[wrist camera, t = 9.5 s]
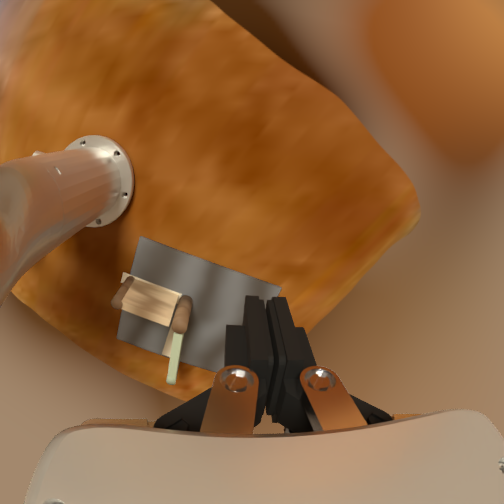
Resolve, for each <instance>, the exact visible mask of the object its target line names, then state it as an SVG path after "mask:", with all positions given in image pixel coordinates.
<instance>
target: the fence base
mask: <svg viewBox="0 0 504 504" xmlns="http://www.w3.org/2000/svg"><path fill="white" fill-rule="evenodd" d="M121 283H123V284H122V285H121V287H120V288H119V290H118V291H117V293H116V294H115V296H114V297H113V299H112V300H111V305H112V307H113V308H115V309H122V313H121V318H120V323H119V328H118V333H117V339H119V340H122V341H124V342H127V343H129V344H132V345H135V346H137V347H140V348H143V349H145V350H148V351H151V352H154V353H157V354H160V355H162V356H165V357H168V358H170V355H171V348H172V341H173V334H174V332H175V333H178V334H183V333H184V337H183V342H182V348H181V354H180V355H181V357H180V362H184V363H187V364H190V365H193V366H197V367H200V368H203V369H207V370H210V371H214V372H218V371H219V370H220V369H222V368H224V355H225V335H226V325H242V324H243V314H244V304H245V296H246V295H251V296H259V299H262V300H264V304H265V309H266V303H267V300H271V299H272V297H277V296H278V294H279V292H280V291H281V289H282V288H281V287H279V286H276V285H273V284H271V283H268V282H265V281H262V280H259V279H256V278H254V277H251V276H248V275H245V274H242V273H240V272H237V271H234V270H231V269H229V268H226V267H223V266H220V265H217V264H215V263H212V262H209V261H207V260H204V259H201V258H198V257H196V256H193V255H190V254H188V253H185V252H182V251H179V250H177V249H174V248H171V247H169V246H166V245H163V244H161V243H158V242H155V241H153V240H150V239H148V238H145V237H142V236H140V239H139V242H138V246H137V249H136V253H135V257H134V261H133V265H132V269H131V273H130V274H127V273H125V272H123V275H122V279H121Z"/></svg>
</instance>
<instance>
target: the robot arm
mask: <svg viewBox="0 0 504 504" xmlns="http://www.w3.org/2000/svg"><path fill="white" fill-rule="evenodd" d="M85 142H86V143H85ZM118 152H120V155H118ZM133 189H134V172H133V167H132V164H131V161H130V159H129V157H128V155H127V154H126V152H125V150H124V149H123V148H122V147H121V146H120V145H119V144H118V143H116V142H115V141H114V140H112V139H110V138H107V137H105V136H99V135H90V136H84V137H82V138H79V139H77V140H75V141H74V142H72V143H71V144H70V145H69V146H68V147H67V148H66V149H65V150H64V151H58V152H52V153H43V152H40V151H35V152H34V154H33V155H32V156H30V157H25V158H19V159H15V160H11V161H8V162H6V163H3V164H2V165H0V307H1V306H2V304H3V302H4V301H5V299H6V298H7V296H8V294H9V293H10V291H11V290H12V288H13V287H14V285H15V284H16V283H17V281H18V280H19V279H20V278H21V277H22V276H23V275H24V274H25V273H26V272H27V271H28V270H29V269H30V268H31V267H32V266H33V265H34V264H36V263H37V262H38V261H39V260H40V259H42V258H43V257H44V256H46V255H47V254H48V253H50V252H51V251H52V250H54V249H55V248H56V247H58V246H59V245H60V244H62V243H63V242H64V241H66V240H67V239H69V238H70V237H71V236H73V235H74V234H76V233H77V232H78V231H80V230H81V229H83V228H84V227H85V226H86V227H94V228H95V227H102V226H105V225H107V224H110V223H111V222H113V221H114V220H116V219H117V218H118V217H119V216H121V214H122V213H123V212H124V211H125V210H126V208H127V206H128V204H129V203H130V200H131V197H132V194H133ZM125 193H127V194H128V196H126V195H125ZM100 219H101V221H100ZM265 406H266V413H267V415H271V416H272V422H273V423H277V422H278V423H280V424H281V425H283V426H284V434H253V429H254V427H255V426H257V425H258V424H259V423H260V422H261V418H262V415H263V413H264V409H265ZM24 504H504V439H503V437H502V435H501V434H500V433H499V431H498V430H497V428H496V427H495V426H494V425H493V423H491V421H490V420H489V419H488V418H487V417H486V416H485V415H484V414H482V413H480V412H477V411H474V410H468V409H449V410H442V411H436V412H431V413H426V414H393V416H390V415H389V414H387V413H386V412H384V411H382V410H380V409H378V408H376V407H374V406H372V405H370V404H368V403H366V402H364V401H362V400H360V399H358V398H356V397H354V396H352V395H350V394H349V393H348V391H347V390H346V388H345V386H344V385H343V383H342V381H341V380H340V378H339V377H338V375H337V374H336V373H335V372H334V371H332V370H331V369H328V368H326V367H322V366H317V365H316V362H315V359H314V356H313V353H312V350H311V347H310V344H309V341H308V338H307V335H306V332H305V330H304V328H303V327H295V326H294V323H293V320H292V316H291V313H290V310H289V306H288V303H287V300H286V297H272V299H271V300H267V303H266V309H265V304H264V300H262V299H259V296H251V295H246V296H245V304H244V314H243V324H242V325H226V335H225V355H224V368H222V369H220V370H219V371H218V372H217V374H216V375H215V378H214V382H213V385H212V387H211V388H209V389H208V390H206V391H204V392H203V393H201V394H199V395H198V396H196V397H194V398H193V399H191V400H189V401H188V402H186V403H184V404H182V405H181V406H179V407H177V408H175V409H174V410H172V411H170V412H168V413H167V414H165V415H163V416H161V417H160V418H159V419H157V421H148V420H147V418H145V419H144V418H143V419H101V418H94V419H89V420H86V421H84V422H83V423H82V424H81V425H80V426H74V427H71V428H68V429H65V430H63V431H61V432H60V433H59V434H57V435H56V436H55V437H54V438H53V439H52V441H51V442H50V443H49V444H48V446H47V447H46V449H45V451H44V453H43V455H42V456H41V458H40V461H39V463H38V465H37V467H36V469H35V472H34V474H33V477H32V480H31V483H30V486H29V489H28V492H27V494H26V498H25V501H24Z"/></svg>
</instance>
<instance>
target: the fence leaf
mask: <svg viewBox="0 0 504 504" xmlns="http://www.w3.org/2000/svg"><path fill="white" fill-rule="evenodd" d="M183 337H184V333H183V334H178V333H175V332H174V334H173V341H172V348H171V355H170V362H169V370H168V375H167V380H166V382H167V383H168V384H170V385H174V384H175V383H176V378H177V373H178V367H179V362H180V357H181V355H180V354H181V348H182V342H183Z"/></svg>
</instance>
